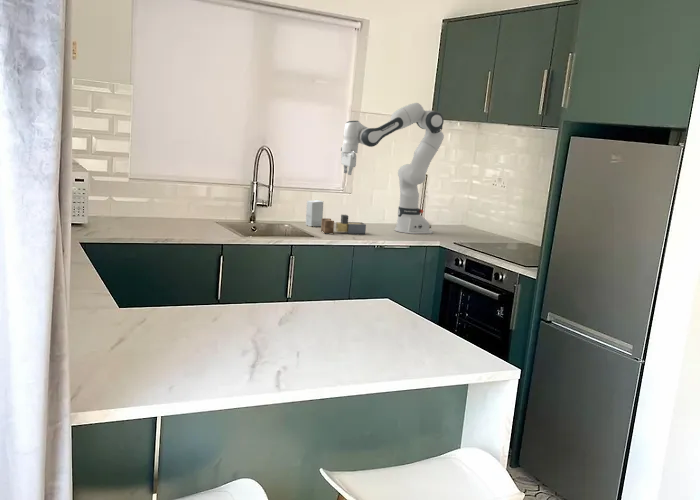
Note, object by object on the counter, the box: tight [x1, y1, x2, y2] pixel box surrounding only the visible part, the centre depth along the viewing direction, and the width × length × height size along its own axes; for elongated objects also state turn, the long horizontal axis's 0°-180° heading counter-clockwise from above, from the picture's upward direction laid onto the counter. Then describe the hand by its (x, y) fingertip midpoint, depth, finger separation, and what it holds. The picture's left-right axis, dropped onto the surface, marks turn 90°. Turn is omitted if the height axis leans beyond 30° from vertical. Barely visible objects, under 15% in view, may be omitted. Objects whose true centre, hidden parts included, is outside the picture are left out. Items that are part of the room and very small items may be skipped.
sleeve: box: [345, 221, 367, 236], centre depth 398 cm, size 10×8×6 cm
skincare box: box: [305, 199, 324, 227], centre depth 413 cm, size 8×6×15 cm
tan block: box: [335, 214, 361, 233], centre depth 397 cm, size 14×4×9 cm, turn 105°
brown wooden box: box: [320, 217, 335, 234], centre depth 394 cm, size 5×9×7 cm, turn 15°
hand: (347, 174), depth 402 cm, fingers open, 8 cm apart
